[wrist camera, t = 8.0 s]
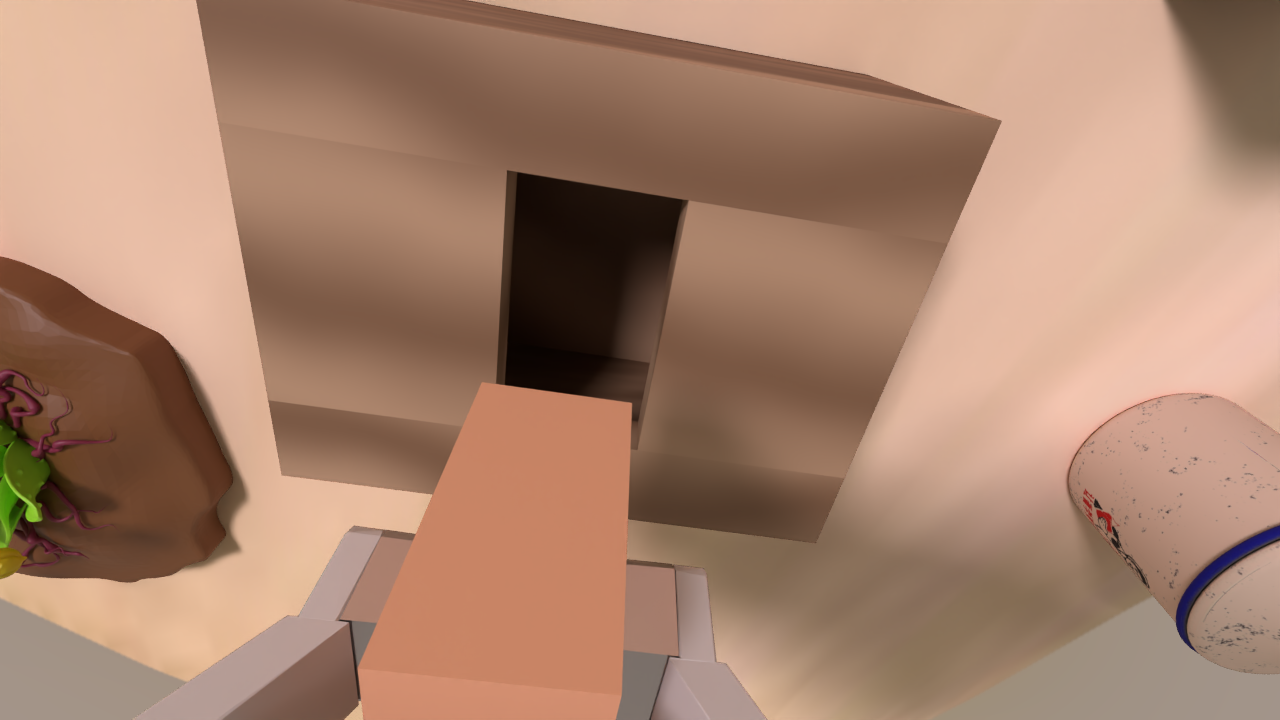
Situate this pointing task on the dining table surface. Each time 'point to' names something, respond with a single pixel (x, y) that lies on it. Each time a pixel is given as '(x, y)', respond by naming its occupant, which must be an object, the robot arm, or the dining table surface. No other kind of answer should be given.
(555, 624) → the orange block
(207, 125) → the dining table surface
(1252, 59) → the dining table surface
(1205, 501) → the teacup with lid
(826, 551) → the dining table surface
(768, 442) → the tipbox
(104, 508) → the plant
